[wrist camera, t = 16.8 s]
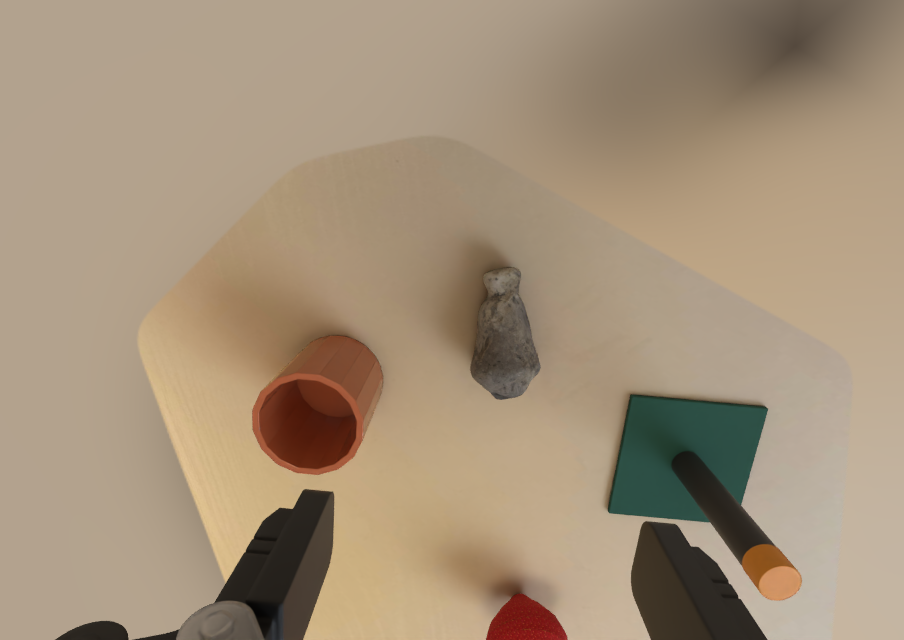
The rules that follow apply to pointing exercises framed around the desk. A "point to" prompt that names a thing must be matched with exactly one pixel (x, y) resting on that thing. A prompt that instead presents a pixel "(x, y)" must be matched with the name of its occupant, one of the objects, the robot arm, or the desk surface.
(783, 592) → the marker
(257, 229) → the desk surface
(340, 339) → the pen cup
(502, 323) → the stone
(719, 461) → the mat
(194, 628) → the robot arm
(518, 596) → the strawberry
